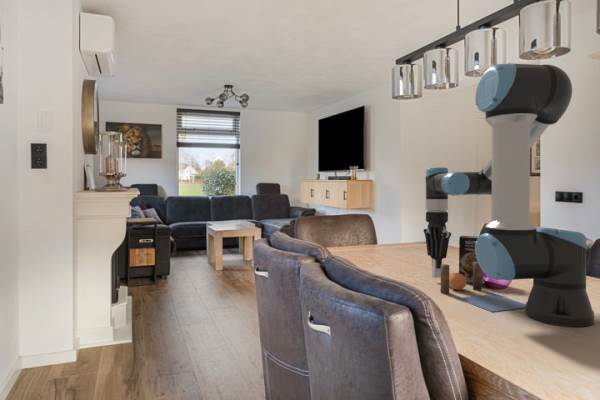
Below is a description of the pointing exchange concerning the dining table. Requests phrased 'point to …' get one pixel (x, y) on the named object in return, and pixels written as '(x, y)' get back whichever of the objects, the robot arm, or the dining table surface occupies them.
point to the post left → (444, 278)
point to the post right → (477, 276)
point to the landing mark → (493, 302)
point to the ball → (457, 281)
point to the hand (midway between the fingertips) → (436, 276)
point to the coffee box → (467, 256)
